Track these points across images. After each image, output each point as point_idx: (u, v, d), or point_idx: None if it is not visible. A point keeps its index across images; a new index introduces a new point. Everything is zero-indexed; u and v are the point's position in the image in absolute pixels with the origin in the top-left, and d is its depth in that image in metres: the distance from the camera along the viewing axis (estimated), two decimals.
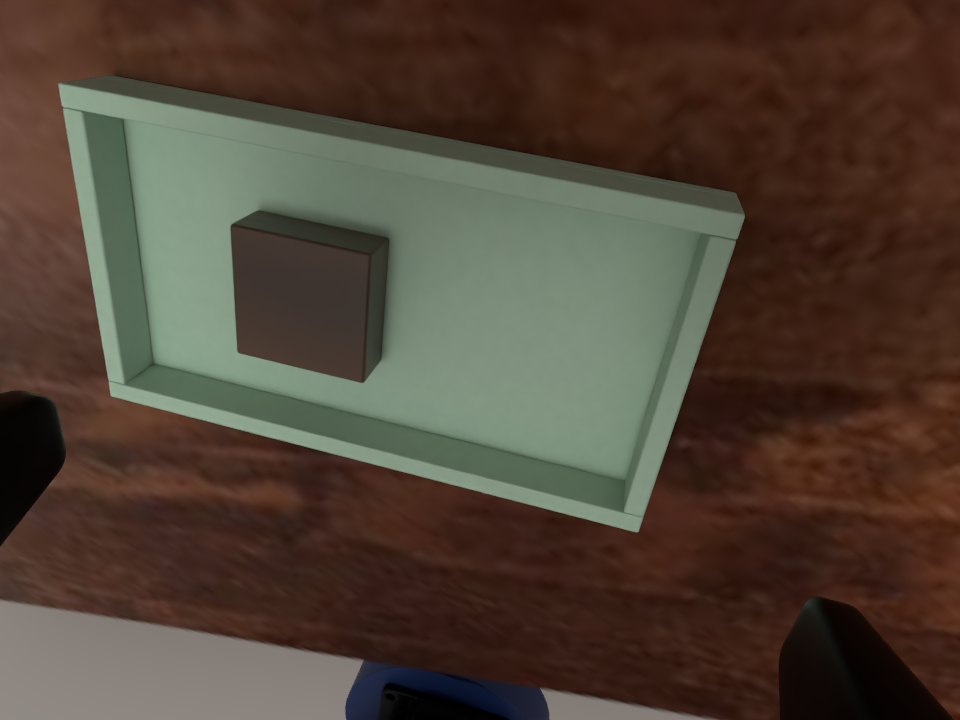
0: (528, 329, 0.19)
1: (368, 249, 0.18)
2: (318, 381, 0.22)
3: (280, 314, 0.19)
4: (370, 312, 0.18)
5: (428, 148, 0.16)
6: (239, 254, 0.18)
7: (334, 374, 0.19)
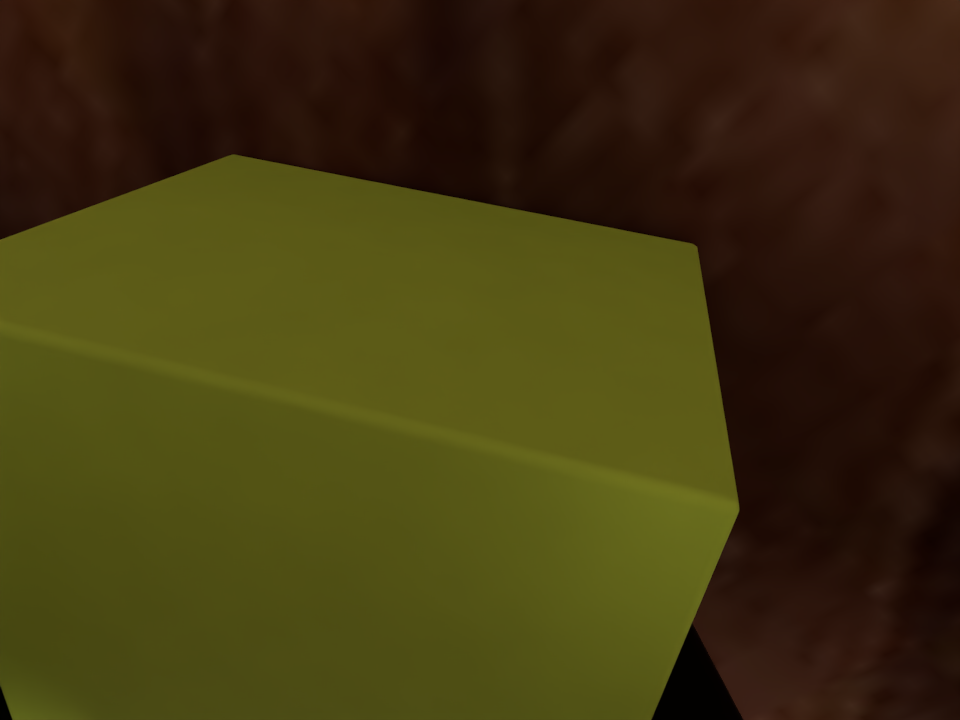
0: None
1: None
2: None
3: None
4: None
5: None
6: None
7: None
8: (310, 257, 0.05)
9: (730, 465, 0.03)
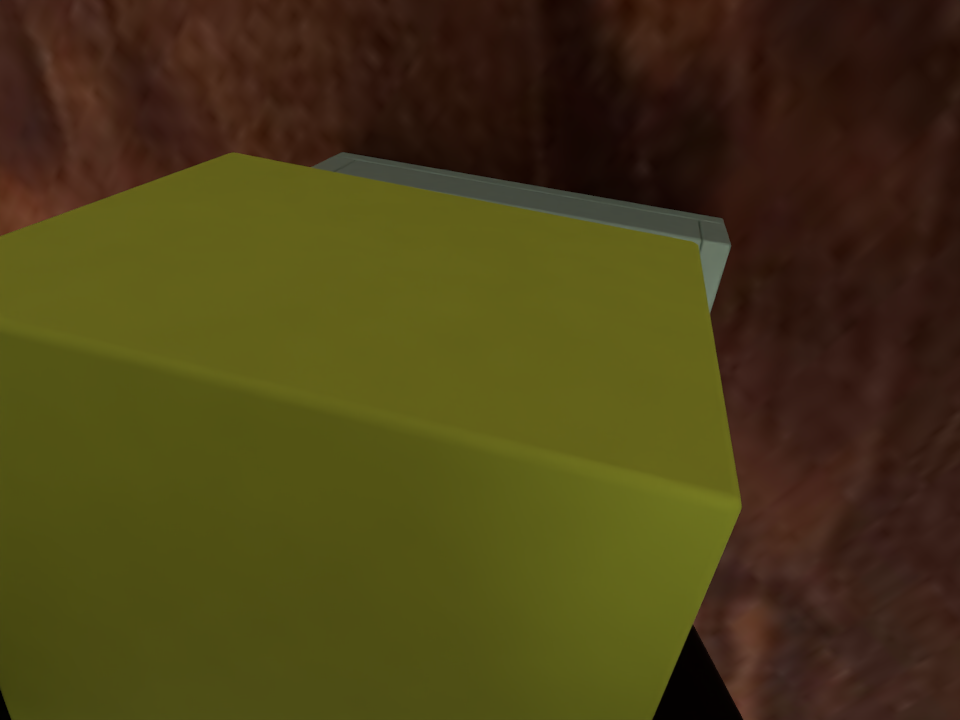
0: None
1: None
2: None
3: None
4: None
5: None
6: None
7: None
8: (311, 255, 0.05)
9: (731, 464, 0.03)
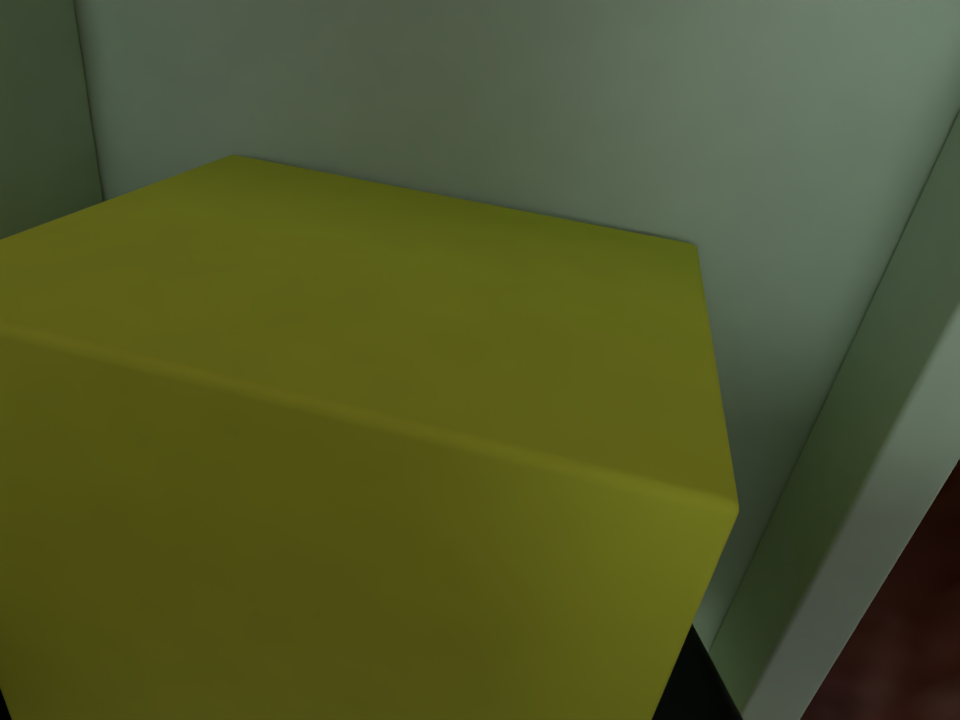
0: None
1: None
2: None
3: None
4: None
5: None
6: None
7: None
8: (310, 258, 0.05)
9: (730, 467, 0.03)
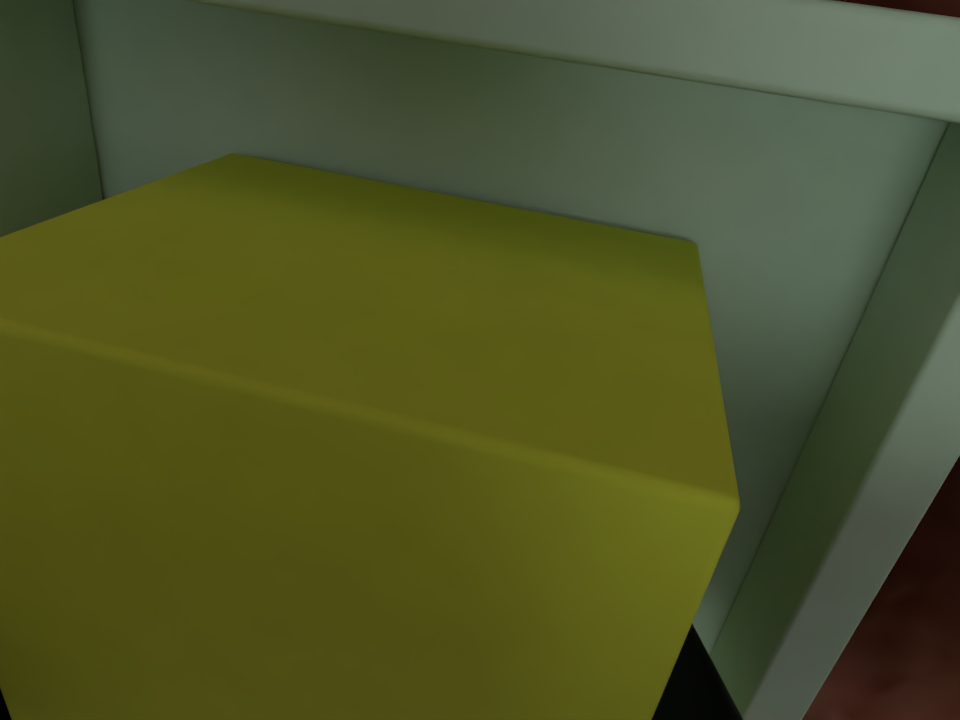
0: None
1: None
2: None
3: None
4: None
5: None
6: None
7: None
8: (310, 255, 0.05)
9: (729, 464, 0.03)
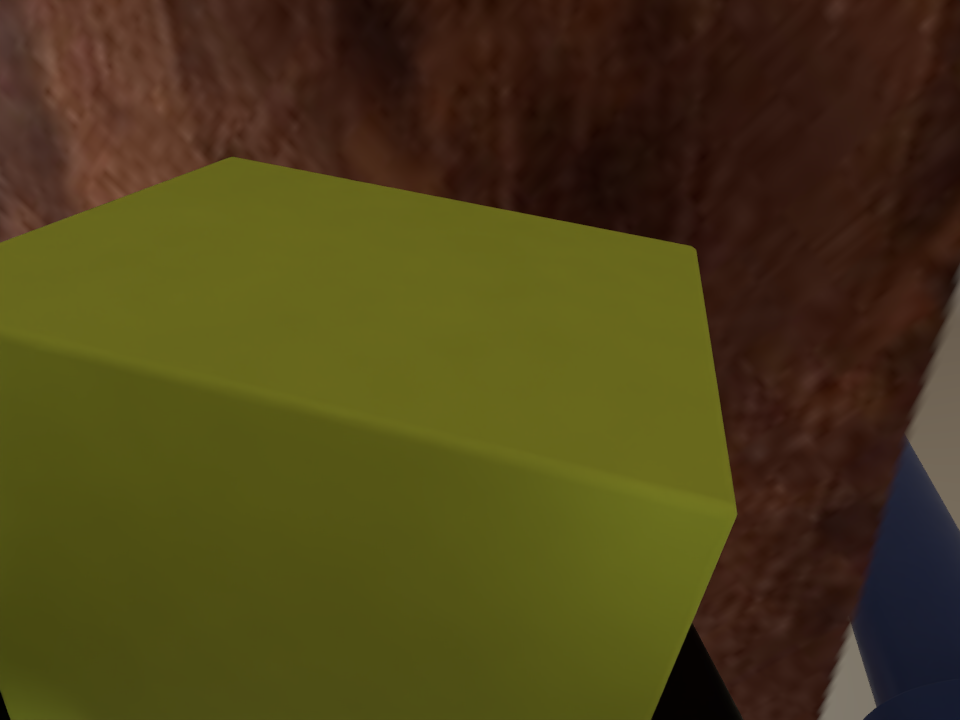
0: None
1: None
2: None
3: None
4: None
5: None
6: None
7: None
8: (309, 261, 0.05)
9: (727, 471, 0.03)
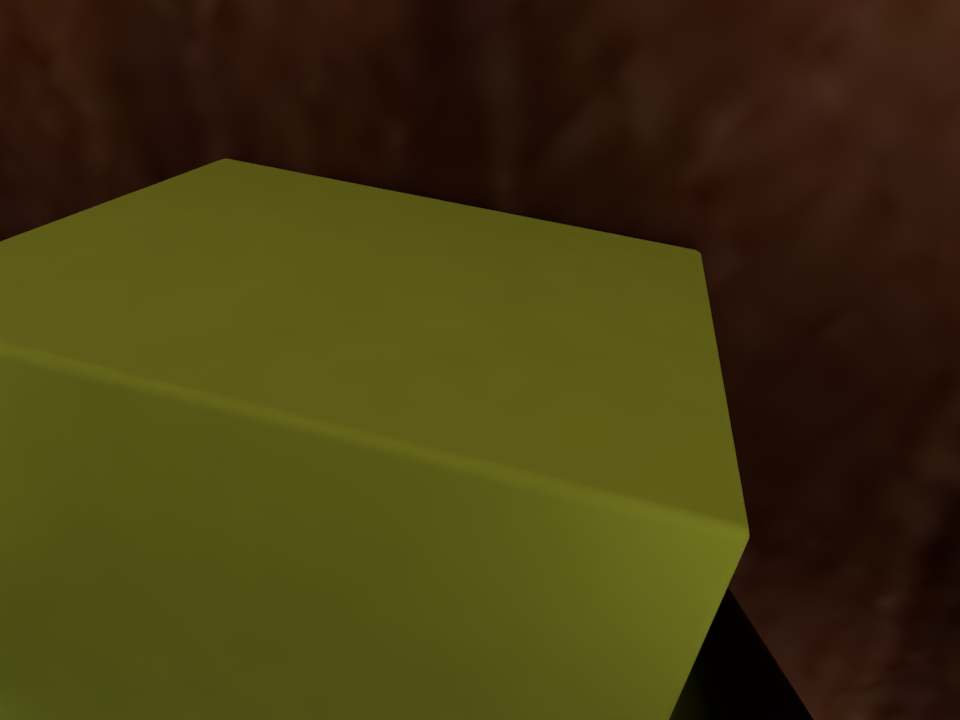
0: None
1: None
2: None
3: None
4: None
5: None
6: None
7: None
8: (302, 266, 0.05)
9: (737, 491, 0.03)
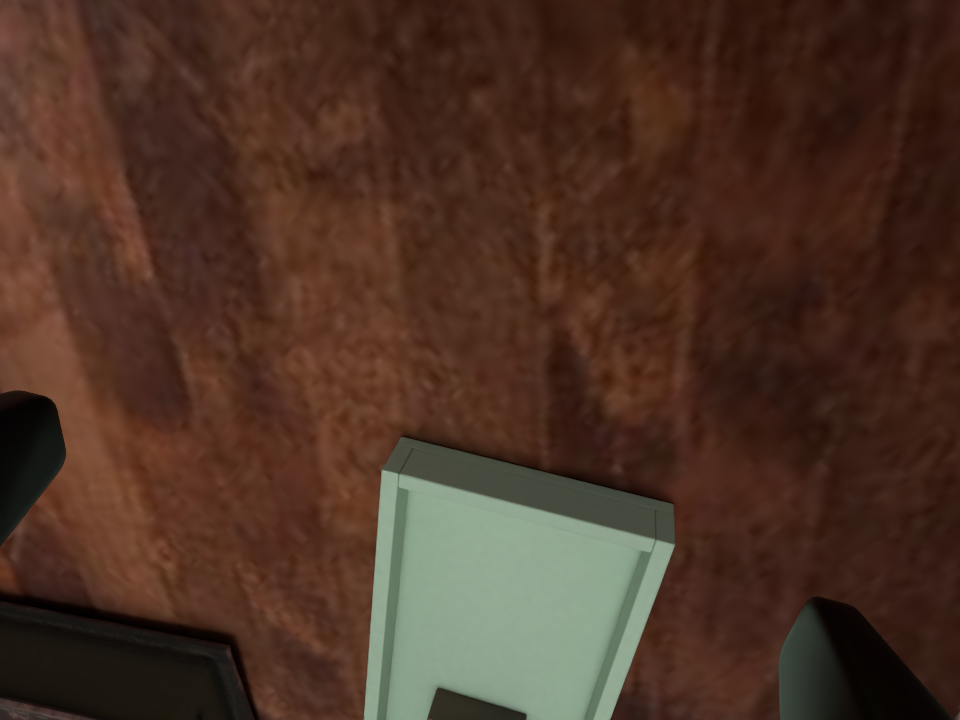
0: (508, 568, 0.25)
1: (428, 714, 0.28)
2: (567, 699, 0.28)
3: None
4: None
5: None
6: None
7: None
8: None
9: None
